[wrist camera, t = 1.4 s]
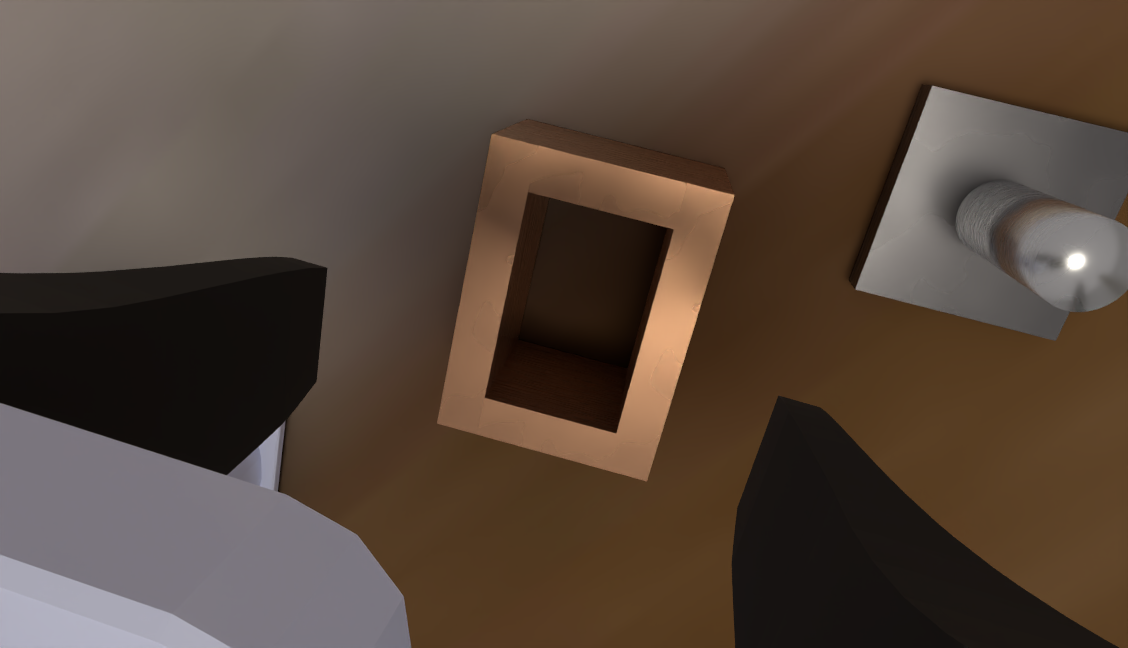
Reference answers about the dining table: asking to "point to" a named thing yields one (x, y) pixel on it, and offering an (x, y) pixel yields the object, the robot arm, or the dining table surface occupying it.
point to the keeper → (999, 215)
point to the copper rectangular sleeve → (502, 280)
